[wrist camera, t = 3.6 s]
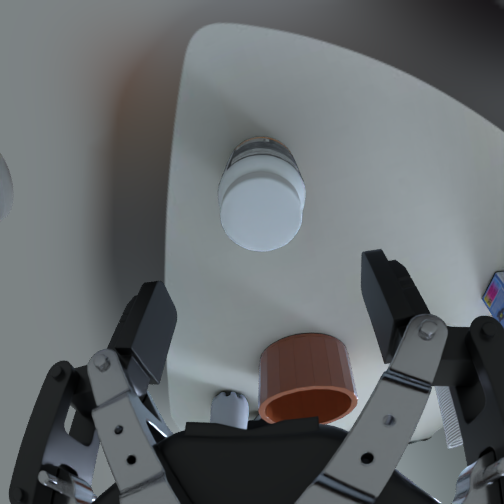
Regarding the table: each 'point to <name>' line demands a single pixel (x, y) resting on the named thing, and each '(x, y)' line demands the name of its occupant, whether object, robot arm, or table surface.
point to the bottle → (230, 410)
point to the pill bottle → (261, 195)
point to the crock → (306, 379)
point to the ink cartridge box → (496, 297)
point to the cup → (449, 417)
